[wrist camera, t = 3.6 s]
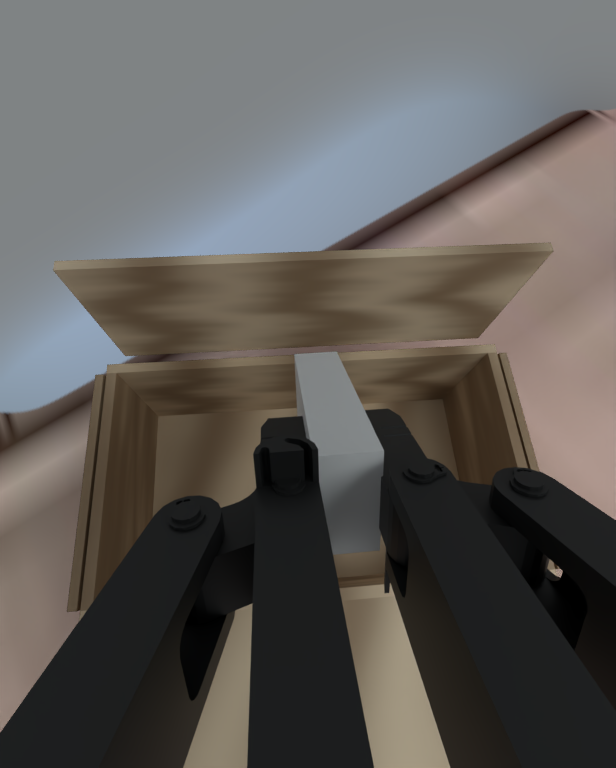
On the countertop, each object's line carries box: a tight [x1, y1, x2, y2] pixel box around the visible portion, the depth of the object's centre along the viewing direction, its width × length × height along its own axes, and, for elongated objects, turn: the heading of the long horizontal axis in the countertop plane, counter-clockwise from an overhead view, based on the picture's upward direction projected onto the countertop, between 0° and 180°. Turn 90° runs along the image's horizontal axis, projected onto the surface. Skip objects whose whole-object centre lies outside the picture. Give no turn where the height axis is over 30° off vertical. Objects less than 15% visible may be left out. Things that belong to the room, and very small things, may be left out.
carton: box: [67, 344, 560, 768], centre depth 23 cm, size 22×19×8 cm
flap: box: [53, 243, 553, 356], centre depth 19 cm, size 19×1×7 cm, turn 94°
